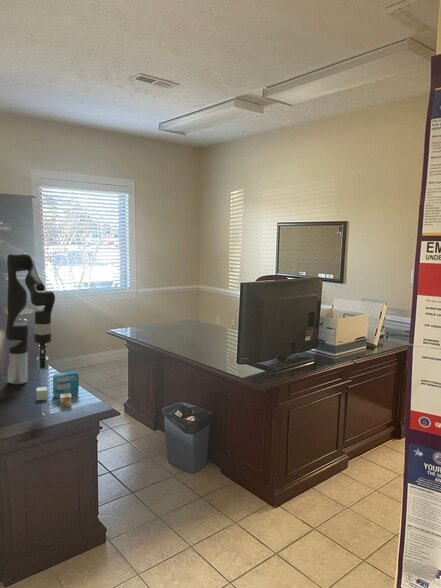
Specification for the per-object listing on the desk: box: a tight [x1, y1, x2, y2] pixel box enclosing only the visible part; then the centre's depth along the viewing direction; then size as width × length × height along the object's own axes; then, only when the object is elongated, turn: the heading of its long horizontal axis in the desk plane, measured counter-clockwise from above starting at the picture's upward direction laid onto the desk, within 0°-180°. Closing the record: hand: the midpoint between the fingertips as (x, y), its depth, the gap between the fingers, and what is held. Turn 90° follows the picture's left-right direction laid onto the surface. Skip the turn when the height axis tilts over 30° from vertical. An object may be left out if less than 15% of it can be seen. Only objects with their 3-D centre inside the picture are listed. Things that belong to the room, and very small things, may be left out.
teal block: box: [36, 356, 49, 371], centre depth 206 cm, size 5×5×5 cm
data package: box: [52, 370, 80, 399], centre depth 224 cm, size 12×4×12 cm, turn 127°
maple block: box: [59, 393, 72, 408], centre depth 212 cm, size 5×5×5 cm
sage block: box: [36, 386, 48, 401], centre depth 219 cm, size 5×5×5 cm
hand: (42, 366), depth 207 cm, fingers closed on teal block, 5 cm apart
